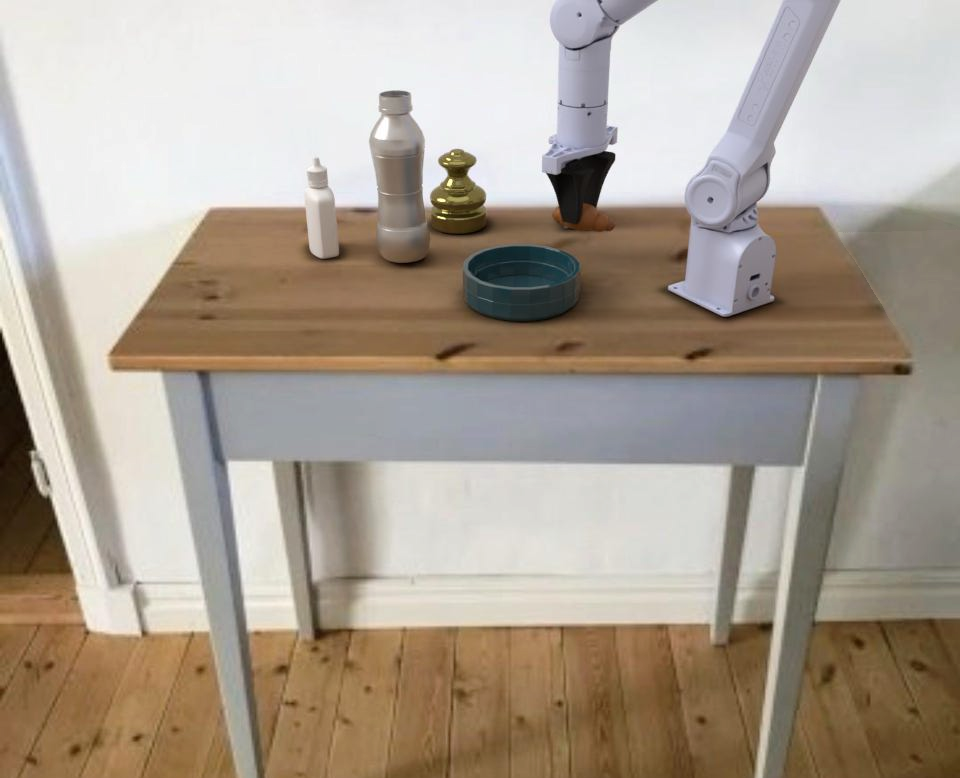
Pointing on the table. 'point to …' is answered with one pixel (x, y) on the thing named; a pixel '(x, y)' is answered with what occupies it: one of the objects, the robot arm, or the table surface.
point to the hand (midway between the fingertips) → (578, 217)
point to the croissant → (587, 220)
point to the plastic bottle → (399, 180)
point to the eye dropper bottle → (320, 213)
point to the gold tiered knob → (458, 196)
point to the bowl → (521, 282)
